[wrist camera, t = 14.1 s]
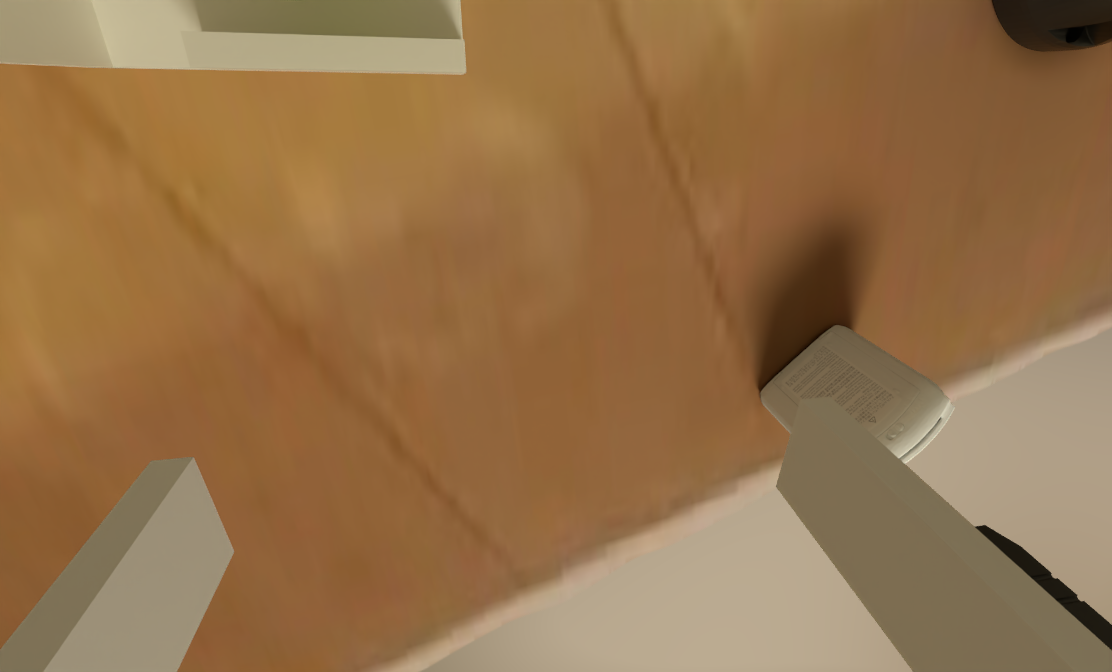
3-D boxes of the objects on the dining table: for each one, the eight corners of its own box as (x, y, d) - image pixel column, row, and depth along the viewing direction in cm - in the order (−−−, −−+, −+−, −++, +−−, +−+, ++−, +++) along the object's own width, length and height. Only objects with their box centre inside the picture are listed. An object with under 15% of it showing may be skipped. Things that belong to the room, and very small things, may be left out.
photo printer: (774, 416, 49) (867, 510, 38) (749, 394, 47) (840, 487, 36) (858, 341, 47) (982, 418, 36) (835, 315, 45) (959, 388, 34)
